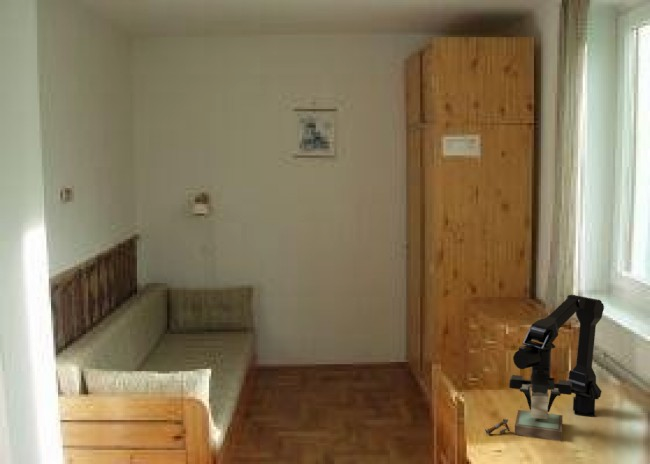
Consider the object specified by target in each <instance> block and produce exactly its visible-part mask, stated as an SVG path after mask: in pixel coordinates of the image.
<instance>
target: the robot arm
mask: <svg viewBox="0 0 650 464" xmlns="http://www.w3.org/2000/svg"><path fill="white" fill-rule="evenodd" d="M604 309H605V306H604V303H603V301H601V299H597V298H591V297H586V296H581V295H577V294H568V295H567V296H566V299H564V301H562V303H561V304H560V305H558V306H557V307H556V309H554V310H553V311H552V312H551V313H550V314H549V315H548V316H547V317H544V318H540V319H538V320H537V321H535V322H534V323H532V324H531V326H529V329H528V330H527V333H526V335H525V338H524V340H523V342H522V345H523V346H522V345H521V346H519V347H518V350H517V351H515V353H514V354H513V357H512V360H513V363H514V365H515V367H516V368H518V369H519V370H525V369H528V368H531V371H530V372H531V375H530V379H524V376H523V375H515V374H512V375H510V378H509V388H510V389H512V390H513V389H515V390H519V391H520V392H521V393H523V394H524V396H525V398H526V401H527V405H528V408H529V411H531V396H532V392H534V393H543V394H546V393H549V392H548V391H550V393H549V397H548V413H550V410H551V409H552V405H553V403H554V402H555V399H556V398H557V397H560V396H561V395H566V396H567V395H568V396H570V395H572V394H574V396H573V400H572V410H573V413H574V415H579V416H586V417H595V416H596V400H599V398H601V396H602V389H601V388H600V387H599V385H598V384H597V375H596V373H595V371H594V369H593V360H594V347H595V338H596V337H595V336H596V328H597V327H596V326H597V324H598V323H599V322H600V320H602V317H603V314H604ZM574 314H575V316H576V317H577V320H578V322H579V329H578V330H579V332H578V341H577V354H576V364H575V366H574V367H573V368H572V369H570V370H569V372H568V379H567V380H565V379H564V380H563V379H558V382H555V379H556V378H555V377H551V368H552V366H551V365H552V363H551V362H552V361H551V360H552V349H555V348H556V345H555V344H554V343H553V342H554V341H555V340H556V339H557V337H558V336H559V330H560V328H561V327H563V326H564V325H565V323H567V321H569V319H570V318H571V317H572V316H573V315H574Z"/></svg>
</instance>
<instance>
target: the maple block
mask: <svg viewBox="0 0 650 464" xmlns="http://www.w3.org/2000/svg"><path fill="white" fill-rule="evenodd" d="M549 397H550V393H549V392H548V393H546V394H543V393H534V392H532V391H531V410H530V411H531V417H532V418H540V419H547V417H548V414H549V412H548V404H549Z"/></svg>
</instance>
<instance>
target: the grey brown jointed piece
mask: <svg viewBox="0 0 650 464" xmlns="http://www.w3.org/2000/svg"><path fill="white" fill-rule="evenodd" d="M508 421H509V419H508V418H503V419H502V420H501V421H500V422H499V423H498V422H497V423H496V424H495V425H494V426H492V427H490V428H488V429H487V428H485V429H484V431H485V432H486V434H487V435H488V436H491V433H493V432H494V431H496V430H498V429H499V428H501V427H502V426H503V427H505V428H502V429H500V430H499V432H498V433H499V434H504V433H506V431H508V432H511V429H510V427H509V426H508V424H507V423H508Z"/></svg>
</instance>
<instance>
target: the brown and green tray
mask: <svg viewBox="0 0 650 464" xmlns="http://www.w3.org/2000/svg"><path fill="white" fill-rule="evenodd" d="M513 435H514V436H521V437H527V438H528V437H529V438H535V439H542V440H548V441H549V440H550V441H557V442H558V441H559V442H562V439H563V436H562V435H563V415H562V414H555V413H548V417H547V419H540V418H532V417H531V410H521V409H517V414H516V419H515V423H514V433H513Z"/></svg>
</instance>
